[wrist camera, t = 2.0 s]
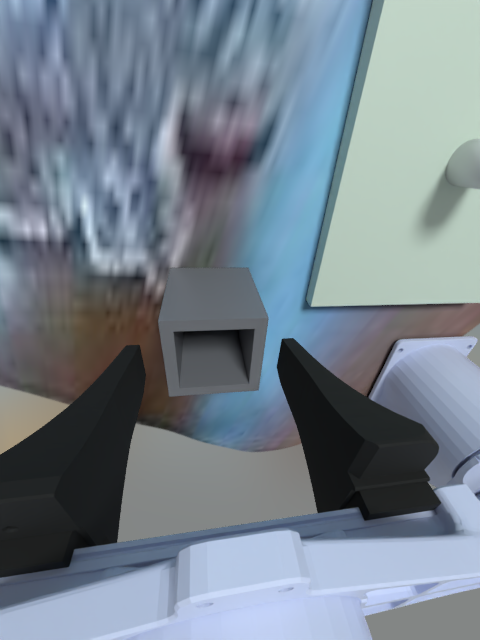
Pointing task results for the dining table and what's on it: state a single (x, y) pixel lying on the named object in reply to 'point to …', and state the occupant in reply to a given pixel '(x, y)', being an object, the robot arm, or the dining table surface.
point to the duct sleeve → (212, 331)
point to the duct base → (407, 164)
